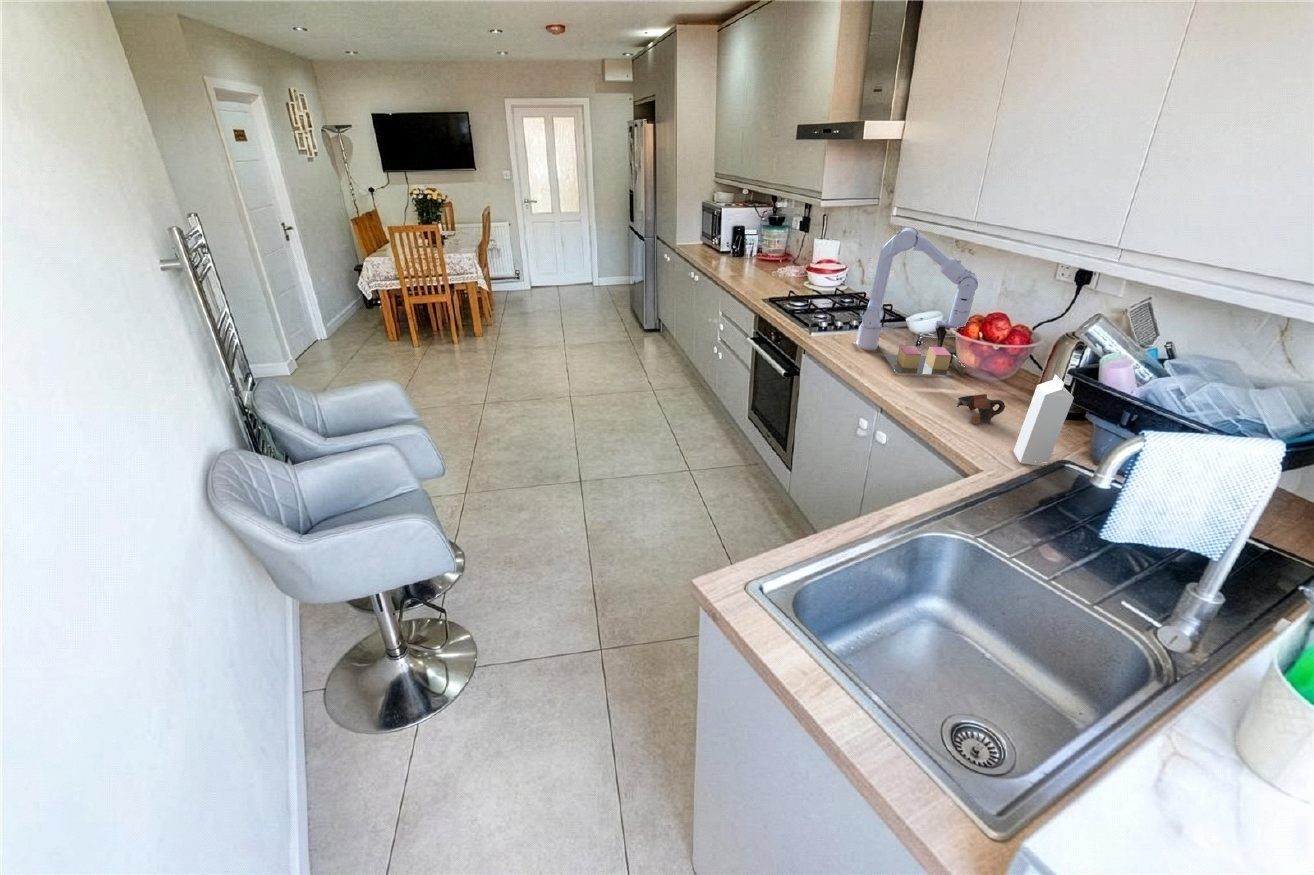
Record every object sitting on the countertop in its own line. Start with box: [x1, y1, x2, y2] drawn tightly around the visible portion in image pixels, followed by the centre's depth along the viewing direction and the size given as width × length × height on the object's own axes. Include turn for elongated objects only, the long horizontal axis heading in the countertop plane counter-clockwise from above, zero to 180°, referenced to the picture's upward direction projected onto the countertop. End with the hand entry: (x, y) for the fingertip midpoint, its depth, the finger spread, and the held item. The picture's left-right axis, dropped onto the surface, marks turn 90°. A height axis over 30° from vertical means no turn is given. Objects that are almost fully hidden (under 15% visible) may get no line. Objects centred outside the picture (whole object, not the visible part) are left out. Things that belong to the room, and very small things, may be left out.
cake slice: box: [925, 346, 951, 371], centre depth 194 cm, size 8×5×5 cm, turn 174°
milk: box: [1013, 374, 1075, 467], centre depth 136 cm, size 6×6×22 cm
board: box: [883, 354, 952, 376], centre depth 197 cm, size 18×18×1 cm
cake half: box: [897, 345, 922, 369], centre depth 195 cm, size 8×5×5 cm, turn 174°
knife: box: [944, 347, 966, 375], centre depth 195 cm, size 17×2×4 cm, turn 174°
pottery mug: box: [956, 393, 1006, 425], centre depth 161 cm, size 12×10×8 cm
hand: (950, 347), depth 199 cm, fingers open, 7 cm apart
